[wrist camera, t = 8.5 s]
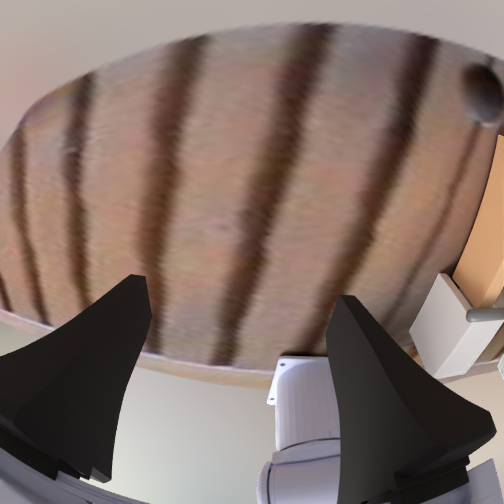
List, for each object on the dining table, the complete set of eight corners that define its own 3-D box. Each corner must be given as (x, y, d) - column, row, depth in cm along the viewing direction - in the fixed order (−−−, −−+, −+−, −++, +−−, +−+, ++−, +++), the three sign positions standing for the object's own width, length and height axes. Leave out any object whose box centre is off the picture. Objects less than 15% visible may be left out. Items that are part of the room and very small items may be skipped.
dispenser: (443, 329, 24) (466, 374, 19) (407, 330, 24) (428, 381, 19) (476, 269, 20) (511, 312, 15) (439, 266, 20) (476, 315, 15)
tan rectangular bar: (465, 278, 20) (490, 310, 16) (451, 277, 20) (476, 310, 16) (511, 142, 13) (549, 159, 10) (498, 134, 13) (538, 150, 10)
